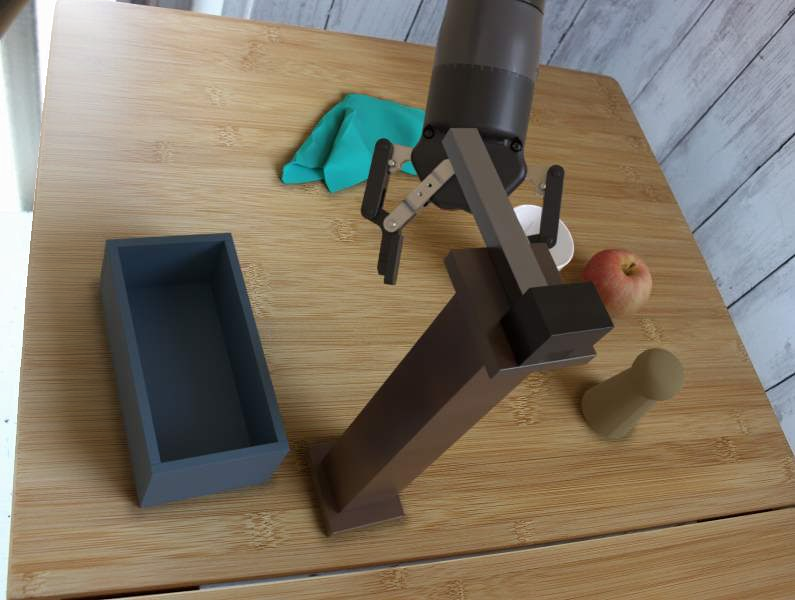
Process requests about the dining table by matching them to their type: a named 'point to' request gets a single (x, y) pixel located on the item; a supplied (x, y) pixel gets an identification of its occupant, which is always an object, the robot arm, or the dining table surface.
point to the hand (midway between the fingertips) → (446, 294)
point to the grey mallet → (524, 267)
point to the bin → (189, 367)
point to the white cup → (531, 225)
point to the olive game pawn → (632, 392)
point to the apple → (619, 281)
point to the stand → (427, 398)
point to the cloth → (353, 141)
